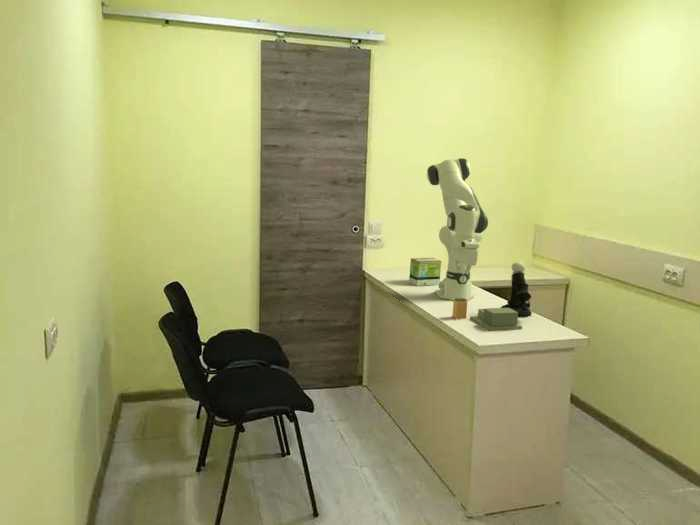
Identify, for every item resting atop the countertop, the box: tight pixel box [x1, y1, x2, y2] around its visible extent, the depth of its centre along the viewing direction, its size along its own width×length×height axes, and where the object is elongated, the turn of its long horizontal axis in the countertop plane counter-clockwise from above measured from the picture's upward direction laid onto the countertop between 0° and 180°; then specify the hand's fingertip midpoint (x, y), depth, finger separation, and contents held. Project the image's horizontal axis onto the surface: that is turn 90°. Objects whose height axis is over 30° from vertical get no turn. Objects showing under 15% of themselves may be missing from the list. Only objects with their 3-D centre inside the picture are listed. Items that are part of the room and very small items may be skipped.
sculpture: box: [500, 261, 532, 318], centre depth 275 cm, size 15×24×25 cm, turn 179°
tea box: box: [408, 257, 442, 287], centre depth 338 cm, size 15×10×15 cm
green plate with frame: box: [469, 307, 523, 331], centre depth 261 cm, size 18×16×7 cm
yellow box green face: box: [452, 298, 468, 319], centre depth 270 cm, size 4×5×9 cm
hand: (462, 271), depth 266 cm, fingers open, 8 cm apart
